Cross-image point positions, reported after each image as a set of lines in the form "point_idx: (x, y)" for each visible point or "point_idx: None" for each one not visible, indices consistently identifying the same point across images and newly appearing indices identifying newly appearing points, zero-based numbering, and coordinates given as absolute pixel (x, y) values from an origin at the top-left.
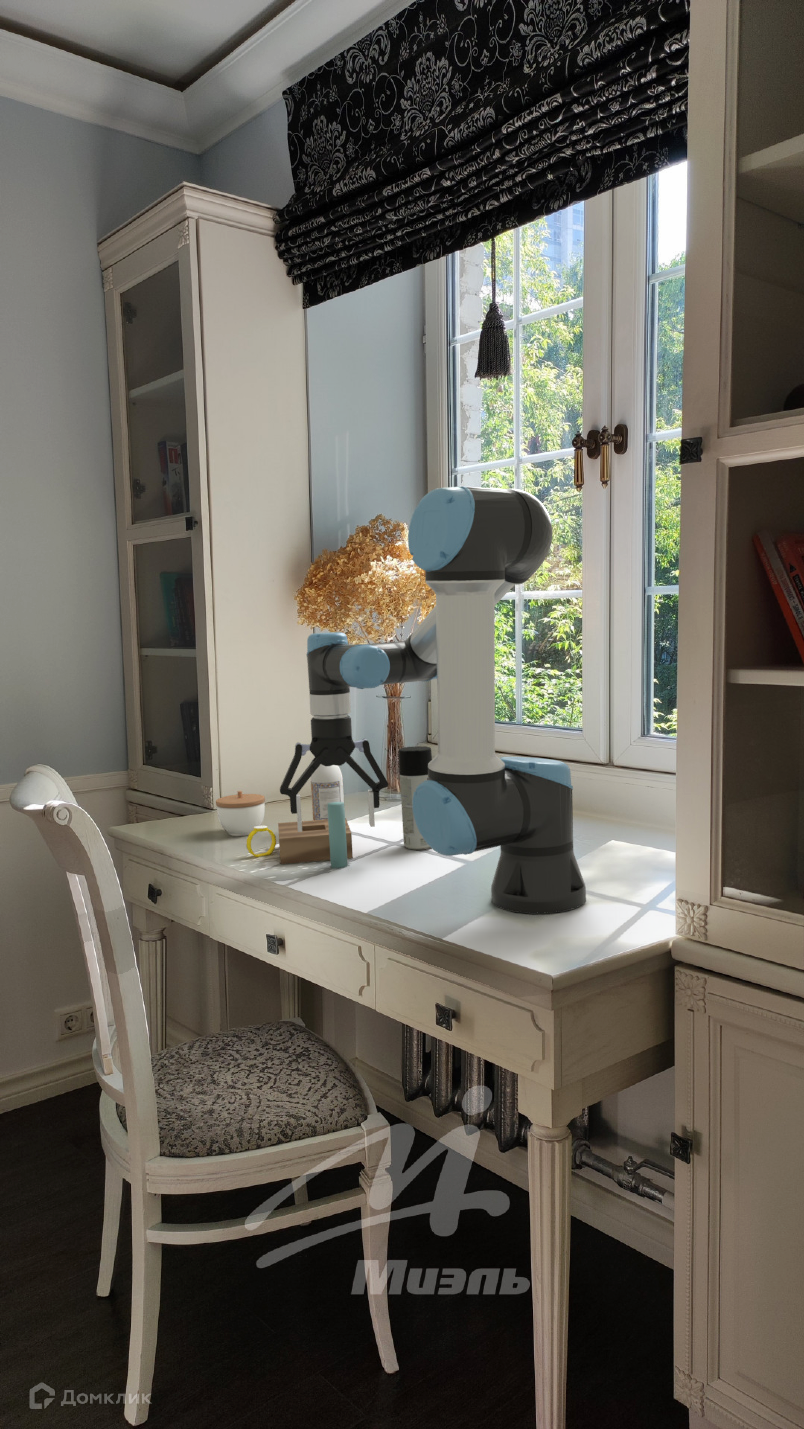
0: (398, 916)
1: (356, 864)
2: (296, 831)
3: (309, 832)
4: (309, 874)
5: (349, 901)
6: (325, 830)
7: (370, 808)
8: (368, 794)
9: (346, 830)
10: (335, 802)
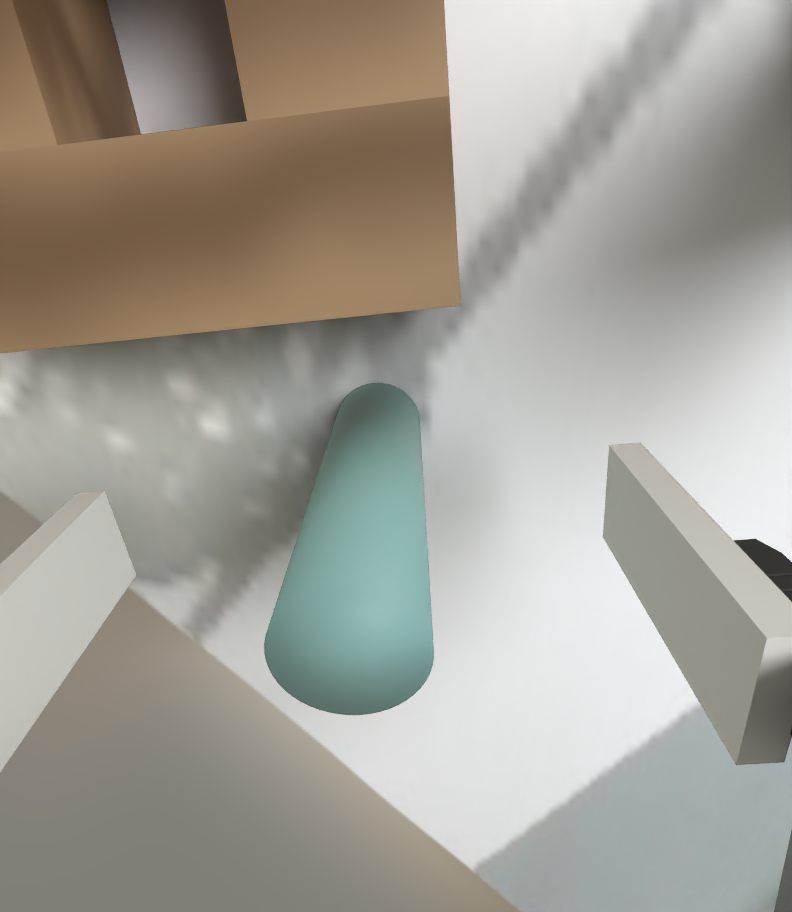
0: (549, 899)
1: (463, 409)
2: (6, 141)
3: (130, 209)
4: (253, 524)
5: (427, 801)
6: (250, 162)
7: (662, 628)
8: (730, 651)
9: (423, 209)
10: (341, 605)
